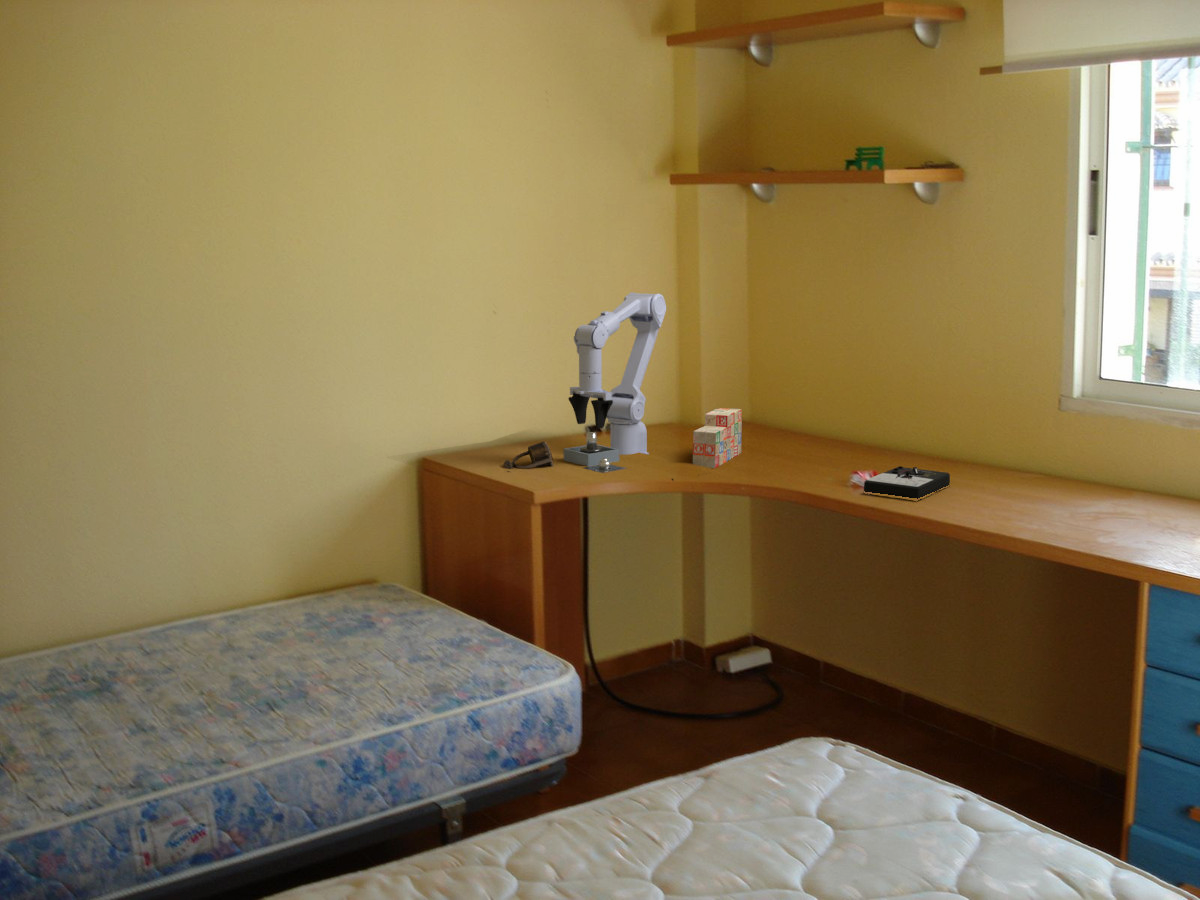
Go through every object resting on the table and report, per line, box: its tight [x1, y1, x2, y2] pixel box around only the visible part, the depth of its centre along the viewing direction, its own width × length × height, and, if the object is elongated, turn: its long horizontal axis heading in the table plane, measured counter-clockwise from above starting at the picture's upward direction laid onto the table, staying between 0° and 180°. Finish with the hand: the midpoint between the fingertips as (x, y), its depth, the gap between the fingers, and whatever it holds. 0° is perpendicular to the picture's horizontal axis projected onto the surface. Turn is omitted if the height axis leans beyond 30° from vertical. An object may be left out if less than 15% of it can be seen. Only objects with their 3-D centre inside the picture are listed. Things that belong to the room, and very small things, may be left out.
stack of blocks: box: [692, 407, 743, 469], centre depth 320 cm, size 21×6×12 cm, turn 156°
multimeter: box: [863, 465, 951, 499], centre depth 284 cm, size 13×19×5 cm
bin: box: [563, 444, 620, 467], centre depth 316 cm, size 10×10×4 cm
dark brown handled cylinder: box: [503, 441, 554, 473], centre depth 310 cm, size 7×13×10 cm
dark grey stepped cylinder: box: [580, 431, 603, 454], centre depth 316 cm, size 6×6×8 cm
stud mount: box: [583, 458, 628, 474], centre depth 307 cm, size 8×8×4 cm
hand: (590, 425), depth 314 cm, fingers open, 7 cm apart
